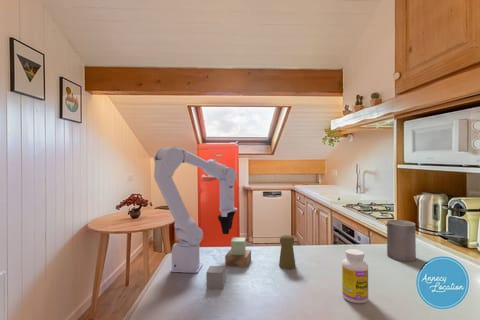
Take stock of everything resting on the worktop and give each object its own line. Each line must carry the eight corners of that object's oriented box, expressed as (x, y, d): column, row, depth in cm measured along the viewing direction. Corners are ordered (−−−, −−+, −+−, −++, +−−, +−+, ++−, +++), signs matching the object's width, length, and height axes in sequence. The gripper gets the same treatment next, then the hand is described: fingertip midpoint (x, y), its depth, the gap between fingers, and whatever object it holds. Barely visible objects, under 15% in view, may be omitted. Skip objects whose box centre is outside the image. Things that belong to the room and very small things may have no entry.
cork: (295, 269, 95) (295, 238, 95) (278, 268, 96) (278, 237, 96) (295, 263, 101) (295, 233, 101) (279, 262, 102) (279, 233, 102)
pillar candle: (384, 252, 112) (384, 216, 112) (411, 254, 110) (410, 216, 110) (390, 260, 103) (390, 221, 103) (420, 263, 100) (419, 222, 100)
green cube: (231, 254, 100) (231, 241, 100) (232, 250, 105) (232, 237, 105) (244, 255, 100) (244, 241, 100) (245, 250, 105) (245, 237, 105)
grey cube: (206, 288, 82) (206, 272, 82) (209, 281, 87) (209, 265, 87) (223, 289, 81) (222, 272, 81) (225, 281, 86) (225, 266, 86)
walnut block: (225, 266, 100) (225, 255, 100) (231, 258, 107) (231, 248, 107) (246, 268, 98) (246, 257, 98) (251, 260, 105) (251, 250, 105)
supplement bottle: (355, 306, 71) (355, 257, 71) (337, 295, 77) (336, 249, 77) (374, 301, 73) (373, 253, 74) (354, 290, 80) (354, 246, 80)
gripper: (234, 199, 100) (235, 236, 100) (238, 194, 115) (239, 227, 115) (215, 199, 101) (216, 236, 101) (222, 194, 116) (222, 226, 116)
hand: (227, 231), depth 108 cm, fingers open, 7 cm apart
